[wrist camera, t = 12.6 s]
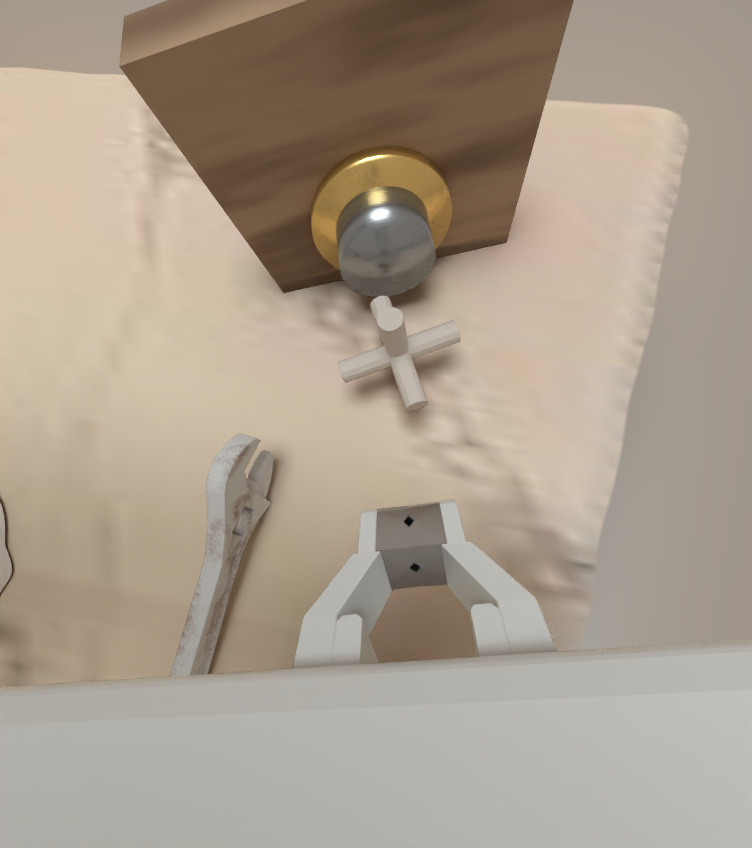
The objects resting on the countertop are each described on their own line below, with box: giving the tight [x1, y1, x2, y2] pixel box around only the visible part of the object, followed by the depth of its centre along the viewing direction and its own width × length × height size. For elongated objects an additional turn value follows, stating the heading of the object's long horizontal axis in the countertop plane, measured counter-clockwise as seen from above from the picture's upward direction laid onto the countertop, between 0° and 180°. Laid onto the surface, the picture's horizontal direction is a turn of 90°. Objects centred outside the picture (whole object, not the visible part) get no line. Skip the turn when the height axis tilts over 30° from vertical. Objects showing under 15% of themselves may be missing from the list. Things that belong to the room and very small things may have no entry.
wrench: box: [170, 433, 273, 676], centre depth 28 cm, size 8×2×30 cm
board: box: [120, 0, 573, 293], centre depth 27 cm, size 10×24×20 cm, turn 97°
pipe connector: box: [338, 295, 460, 411], centre depth 27 cm, size 10×10×10 cm
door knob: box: [311, 146, 452, 297], centre depth 28 cm, size 5×12×12 cm, turn 97°
